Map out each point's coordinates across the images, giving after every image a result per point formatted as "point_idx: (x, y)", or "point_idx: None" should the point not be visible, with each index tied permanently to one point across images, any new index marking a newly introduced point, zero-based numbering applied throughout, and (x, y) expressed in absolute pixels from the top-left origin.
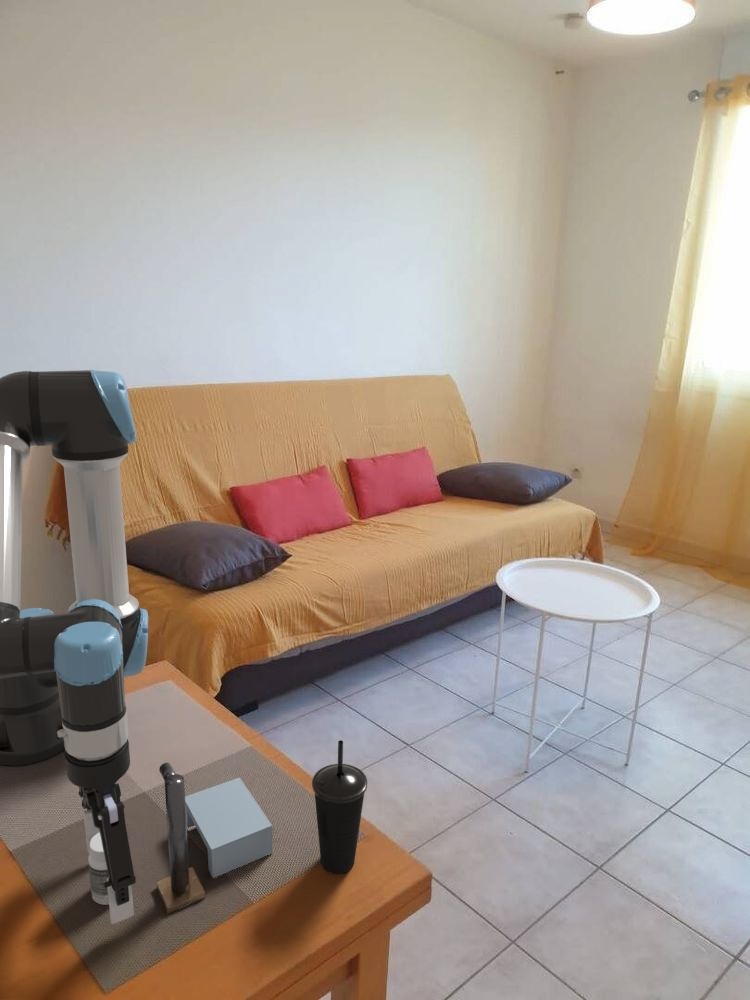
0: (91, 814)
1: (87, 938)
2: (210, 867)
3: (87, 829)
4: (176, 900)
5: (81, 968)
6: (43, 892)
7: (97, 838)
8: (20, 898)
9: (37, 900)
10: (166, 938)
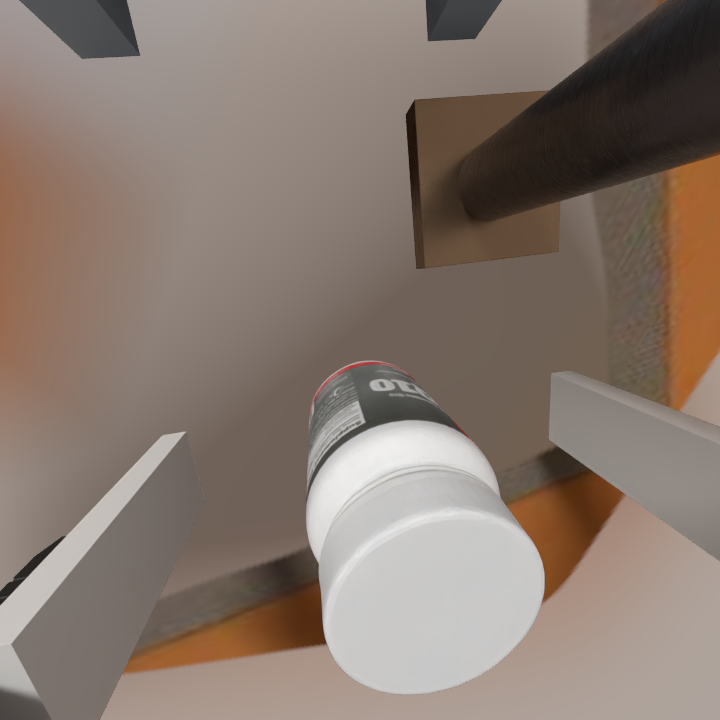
0: (69, 703)
1: (502, 474)
2: (471, 8)
3: (148, 608)
4: (543, 213)
5: (576, 485)
6: (292, 581)
7: (396, 662)
8: (292, 627)
9: (316, 591)
10: (615, 275)
